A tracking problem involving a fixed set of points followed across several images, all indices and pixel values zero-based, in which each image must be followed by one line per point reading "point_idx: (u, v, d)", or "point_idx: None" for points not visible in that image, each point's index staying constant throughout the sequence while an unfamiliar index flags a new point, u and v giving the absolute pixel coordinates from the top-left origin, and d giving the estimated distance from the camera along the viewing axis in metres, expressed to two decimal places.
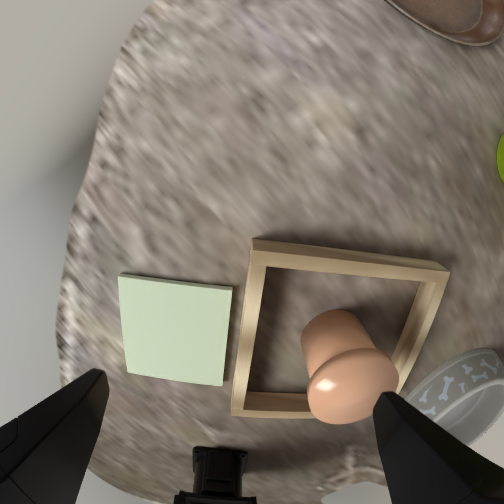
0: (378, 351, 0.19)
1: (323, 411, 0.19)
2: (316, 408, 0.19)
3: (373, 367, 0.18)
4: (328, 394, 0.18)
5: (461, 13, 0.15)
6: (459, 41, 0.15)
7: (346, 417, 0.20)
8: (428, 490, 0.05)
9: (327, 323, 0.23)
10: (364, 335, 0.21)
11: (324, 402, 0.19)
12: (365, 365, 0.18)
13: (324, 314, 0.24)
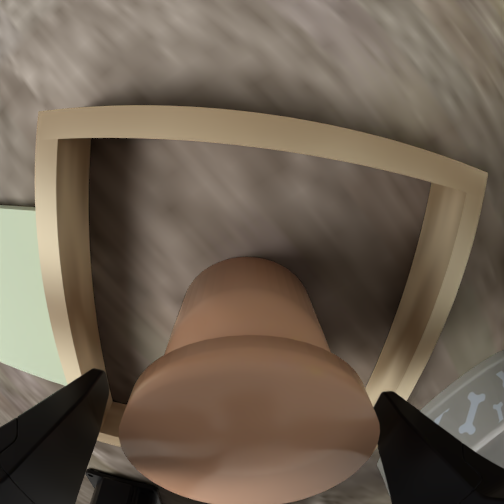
0: (311, 350, 0.06)
1: (176, 482, 0.07)
2: (153, 473, 0.07)
3: (286, 401, 0.06)
4: (166, 452, 0.06)
5: None
6: None
7: (244, 498, 0.07)
8: (428, 490, 0.05)
9: (213, 279, 0.11)
10: (293, 308, 0.09)
11: (166, 466, 0.06)
12: (253, 393, 0.05)
13: (218, 265, 0.12)
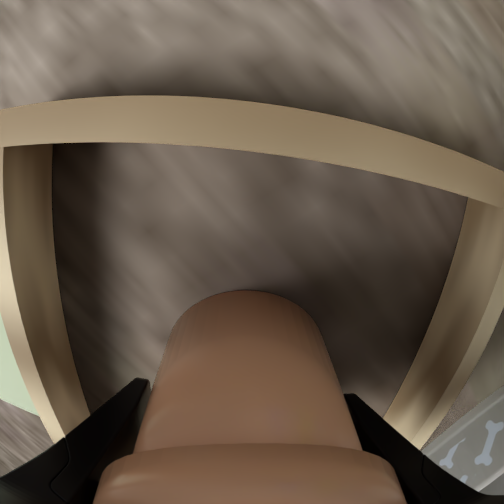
0: (336, 458, 0.04)
1: None
2: None
3: None
4: None
5: None
6: None
7: None
8: None
9: (202, 324, 0.08)
10: (306, 371, 0.07)
11: None
12: None
13: (209, 301, 0.09)
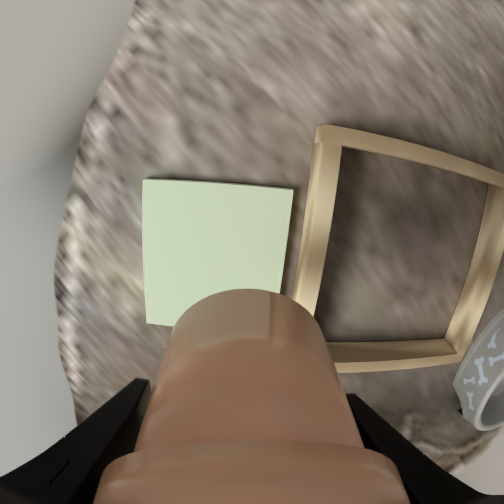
0: (339, 456, 0.04)
1: None
2: None
3: None
4: None
5: None
6: None
7: None
8: None
9: (203, 322, 0.08)
10: (308, 368, 0.06)
11: None
12: None
13: (210, 299, 0.09)
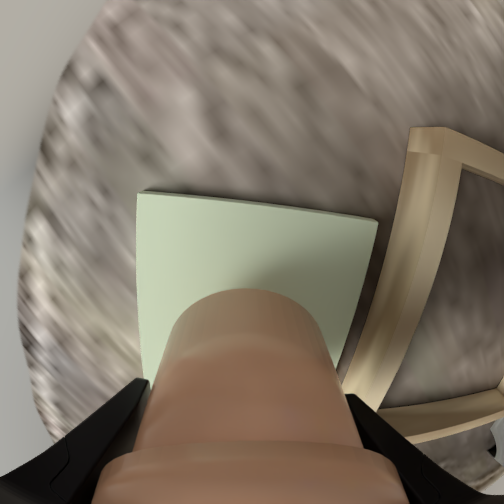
0: (338, 456, 0.04)
1: None
2: None
3: None
4: None
5: None
6: None
7: None
8: None
9: (202, 322, 0.08)
10: (307, 368, 0.06)
11: None
12: None
13: (209, 299, 0.09)
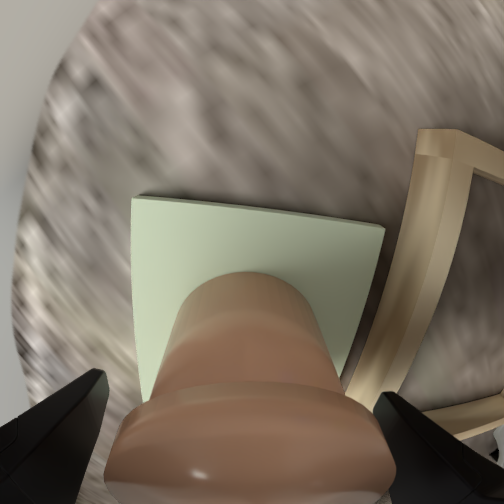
0: (323, 397, 0.05)
1: None
2: None
3: (294, 459, 0.04)
4: (157, 498, 0.05)
5: None
6: None
7: None
8: (428, 490, 0.05)
9: (207, 299, 0.09)
10: (299, 336, 0.08)
11: None
12: (256, 453, 0.04)
13: (213, 281, 0.11)
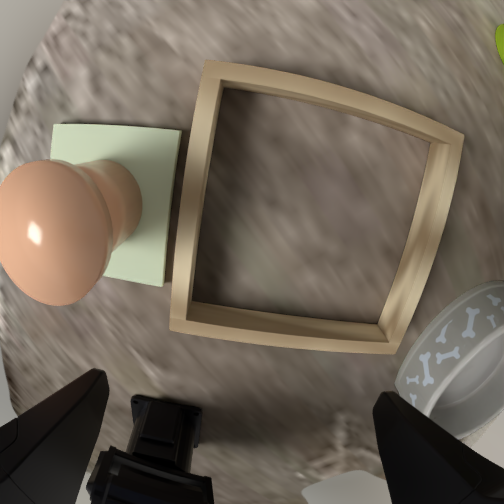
0: (67, 163, 0.11)
1: (13, 266, 0.11)
2: (4, 257, 0.11)
3: (45, 180, 0.10)
4: (7, 230, 0.11)
5: None
6: None
7: (46, 289, 0.12)
8: (429, 490, 0.05)
9: None
10: (95, 169, 0.14)
11: (8, 246, 0.11)
12: (34, 175, 0.10)
13: None
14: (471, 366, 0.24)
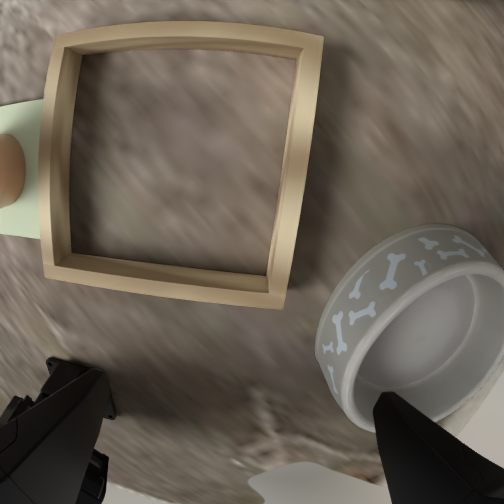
0: None
1: None
2: None
3: None
4: None
5: None
6: None
7: None
8: (428, 490, 0.05)
9: None
10: None
11: None
12: None
13: None
14: (423, 337, 0.22)
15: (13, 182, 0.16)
